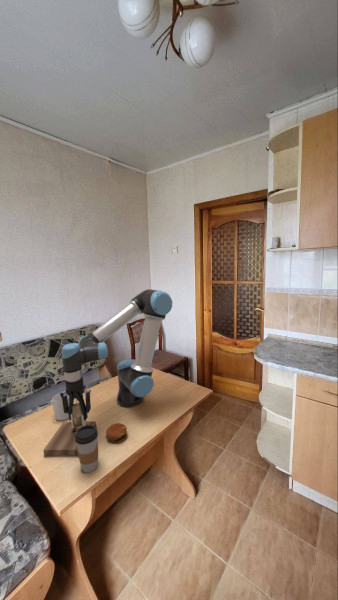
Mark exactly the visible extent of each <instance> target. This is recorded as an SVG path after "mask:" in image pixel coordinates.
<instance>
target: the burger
mask: <svg viewBox="0 0 338 600" xmlns="http://www.w3.org/2000/svg"><path fill="white" fill-rule="evenodd" d="M127 428H128V427H127V425H126V424H124V423H119V422H117V423H114V424H111V425H109V427H108V428H107V429H106V432H105V434H106V440H107V441H108V442H111V443H119V442H122V441H124V440H125V439H126V438H127V437H128V431H127Z"/></svg>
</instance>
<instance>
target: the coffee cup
mask: <svg viewBox="0 0 338 600" xmlns="http://www.w3.org/2000/svg"><path fill="white" fill-rule="evenodd" d="M98 436H99V432H98V429H97V427H95V426H93V425H86V426H83V427H81V428H79V429H78V430H77V431H76V435H75V442H76V444H77V451H78V456H77V457H78V460H79V464H80V469H81V471H83V472H84V473H91V472H93V471H95V470H96V469H97V467H98V465H99V441H98V439H99V438H98Z"/></svg>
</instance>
